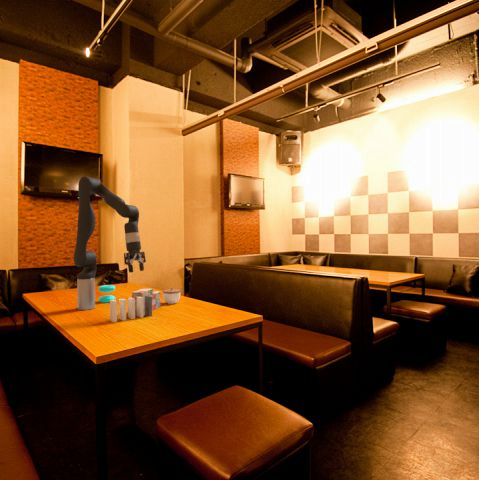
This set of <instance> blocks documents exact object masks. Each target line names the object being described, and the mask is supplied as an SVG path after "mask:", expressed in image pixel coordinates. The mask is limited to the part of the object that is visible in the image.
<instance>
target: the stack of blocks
mask: <svg viewBox="0 0 479 480" xmlns="http://www.w3.org/2000/svg"><path fill="white" fill-rule="evenodd" d="M147 295H148V296H151V297H152V312H153V311H154V310H157V309H159V308H161V291H157V290H155V291H154V288H140V289H138V290H134V291H132V292H131V298H134V299H135V316H137V297H139V296H140V297H143V298H144V316H146V315H145V296H147Z"/></svg>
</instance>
